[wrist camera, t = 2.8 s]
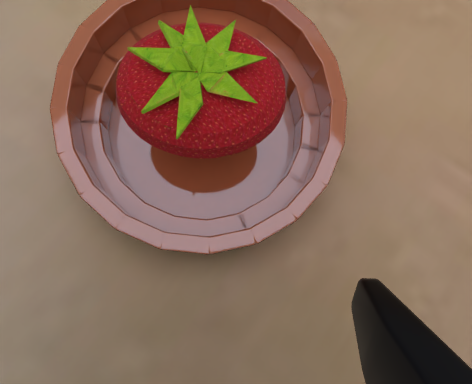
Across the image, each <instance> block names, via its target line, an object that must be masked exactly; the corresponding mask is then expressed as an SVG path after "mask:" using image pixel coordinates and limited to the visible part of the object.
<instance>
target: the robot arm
mask: <svg viewBox="0 0 472 384" xmlns="http://www.w3.org/2000/svg"><path fill="white" fill-rule="evenodd" d="M352 314H353V320H354V326H355V331H356V337H357V343H358V349H359V354H360V360H361V365H362V370H363V375H364V378H365V382H366V384H472V369H471V368H470V367H469V366H468V365H467V364H466V363H465V362H464V361H463V360H462V359H461V358H460V357H459V356H458V355H457V354H455V353H454V352H453V351H452V350H451V349H450V348H449V347H448V346H447V345H446V344H445V343H444V342H443V341H442V340H441V339H440V338H439V337H438V336H437V335H436V334H435V333H434V332H433V331H432V330H430V329H429V328H428V327H427V326H426V325H425V324H424V323H423V322H422V321H421V320H420V319H419V318H418V317H417V316H416V315H415V314H414V313H413V312H412V311H411V310H410V309H409V308H408V307H407V306H405V305H404V304H403V303H402V302H401V301H400V300H399V299H398V298H397V297H396V296H395V295H394V294H393V293H392V292H391V291H390V290H389V289H388V288H387V287H386V286H385V285H384V284H383V283H381V282H380V281H379V280H378V279H367V278H362V279H360V280H359V282H358V284H357V287H356V290H355V293H354V297H353V300H352Z"/></svg>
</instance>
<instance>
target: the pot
mask: <svg viewBox="0 0 472 384" xmlns="http://www.w3.org/2000/svg"><path fill="white" fill-rule="evenodd" d="M190 5H191V8H192V10H193V13H194V15H195V18H196V20H197V23H212V24H220V25H224V26H228V25H229V24H231V23H232V22H233V21H235V20H236V22H235V26H234V29H237V30H239V31H241V32H244V33H246V34H248V35H250V36H252V37H253V38H255V39H256V40H258V41H259V42H261V43H262V44H263V45H264V46H265V47H266V48H267V49H268V50H269V51H271V52H272V54H273V55H274V57H275V58H276V59H277V61H278V62H279V64H280V66H281V69H282V71H283V74H284V78H285V86H286V104H285V110H284V112H283V115H282V117H281V120H280V122H279V123H278V125H277V126H276V127H275V129H274V130H273V132H272V133H271V134H269V135H268V136H267V137H266V138H265V139H264V140H263V141H262V142H260V143H258V144H256V145H255V146H253V147H251V148H250V149H248V150H245V151H242V152H240V153H237V154H234V155H230V156H225V157H220V158H206V159H198V158H189V157H182V156H178V155H175V154H171V153H168V152H165V151H163V150H161V149H158V148H156V147H154V146H152V145H150V144H149V143H147V142H146V141H144V140H143V139H141V138H140V137H139V136H138V135H137V134H136V133H135V132H134V131H133V130H132V129H131V128H130V127H129V126H128V125H127V123H126V122H125V120H124V119H123V117H122V115H121V113H120V110H119V107H118V104H117V97H116V77H117V72H118V68H119V65H120V63H121V61H122V59H123V57H124V56H125V54H126V53H127V52H128V51H129V50H128V48H127V47H132V46H133V45H134V44H136V43H137V42H138V41H139V40H141V39H142V38H143V37H145V36H147V35H149V34H151V33H153V32H154V31H156V30H159V29H161V28H160V26H159V24H158V21H159V20H160V21H162V22H163V23H165V24H166V25H168V26H171V25H177V24H183V23H186V22H187V18H188V13H189V9H190ZM50 108H51V109H50V113H51V120H52V126H53V132H54V139H55V145H56V151H57V154H58V157H59V159H60V161H61V162H62V164H63V166H64V168H65V170H66V172H67V174H68V176H69V177H70V179H71V181H72V183H73V185H74V187H75V189H76V190H77V192H78V194H79V195H80V197H81V198H82V199H83V200H84V201H85V202H86V203H87V204H88V205H89V206H91V207H92V208H93V209H94V210H95V211H96V212H97V213H98V214H99V215H100V216H101V217H102V218H104V219H105V220H106V221H107V222H108V223H109V224H110V225H111V226H112V227H113V228H115V229H116V230H118V231H120V232H122V233H125V234H127V235H129V236H131V237H134V238H136V239H138V240H140V241H142V242H145V243H147V244H149V245H151V246H154V247H156V248H158V249H161V250H170V251H180V252H189V253H199V254H214V253H219V252H223V251H228V250H233V249H237V248H242V247H247V246H251V245H255V244H258V243H260V242H261V241H263V240H265V239H267V238H268V237H270V236H272V235H273V234H275V233H277V232H278V231H280V230H282V229H284V228H285V227H287V226H289V225H290V224H292V223H294V222H295V221H297V220H298V219H299V218H300V217H301V216H302V214H303V213H304V212H305V211H306V210H307V209H308V208H309V206H310V205H311V204H312V203H313V202H314V201H315V200H316V198H317V197H318V196H319V195H320V194H321V193H322V191H323V190H324V189H325V188H326V187H327V185H328V184H329V181H330V179H331V176H332V174H333V171H334V169H335V166H336V164H337V162H338V159H339V157H340V154H341V152H342V149H343V147H344V143H345V129H346V113H347V98H346V94H345V90H344V86H343V82H342V79H341V75H340V71H339V67H338V63H337V60H336V58H335V56H334V54H333V53H332V51H331V50H330V48H329V46H328V45H327V43H326V42H325V40H324V39H323V37H322V35H321V34H320V32H319V31H318V29H317V27H316V26H315V24H314V23H313V22H312V21H311V20H310V19H309V18H307V17H306V16H305V15H304V14H303V13H302V12H301V11H299V10H298V9H297V8H296V7H295V6H294V5H292V4H291V3H290V2H289V1H288V0H107V1H106V2H105V3H103V4H102V5H101V6H100V7H99V8H98V9H97V10H96V11H95V12H94V13H92V14H91V15H90V16H89V17H88V18H87V19H86V20H85V21H84V22H83V23H82V24H81V25H79V27H78V29H77V31H76V32H75V34H74V36H73V38H72V39H71V41H70V43H69V45H68V47H67V48H66V50H65V52H64V54H63V55H62V57H61V59H60V61H59V63H58V66H57V72H56V77H55V83H54V88H53V94H52V99H51V105H50Z"/></svg>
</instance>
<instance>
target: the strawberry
mask: <svg viewBox="0 0 472 384" xmlns="http://www.w3.org/2000/svg"><path fill="white" fill-rule="evenodd" d="M235 22H236V20H235V21H233V22H232V23H231V24H229V25H228V26H224V25H220V24H212V23H197V20H196V18H195V15H194V13H193V10H192V8H191V5H190V9H189V13H188V18H187V22H186V23H183V24H177V25H171V26H168V25H166V24H165V23H163V22H162V21H160V20H159V21H158V24H159V26H160V28H161V29H159V30H156V31H154V32H153V33H151V34H149V35H147V36H145V37H143V38H142V39H141V40H139V41H138V42H137V43H136V44H134V45H133V46H132V47H127V48H128V50H129V51H128V52H127V53H126V54H125V56H124V57H123V59H122V61H121V63H120V65H119V68H118V72H117V77H116V97H117V104H118V107H119V110H120V113H121V115H122V117H123V119H124V120H125V122H126V123H127V125H128V126H129V127H130V128H131V129H132V130H133V131H134V132H135V133H136V134H137V135H138V136H139V137H140V138H141V139H143V140H144V141H146V142H147V143H149V144H150V145H152V146H154V147H156V148H158V149H161V150H163V151H165V152H168V153H171V154H175V155H178V156H182V157H189V158H198V159H206V158H220V157H225V156H230V155H234V154H237V153H240V152H242V151H245V150H248V149H250V148H251V147H253V146H255V145H256V144H258V143H260V142H262V141H263V140H264V139H265V138H266V137H267V136H268V135H269V134H271V133H272V132H273V130H274V129H275V127H276V126H277V125H278V123H279V122H280V120H281V117H282V115H283V112H284V110H285V104H286V86H285V78H284V74H283V71H282V69H281V66H280V64H279V62H278V61H277V59H276V58H275V57H274V55H273V54H272V52H271V51H269V50H268V49H267V48H266V47H265V46H264V45H263V44H262V43H261V42H259V41H258V40H256V39H255V38H253V37H252V36H250V35H248V34H246V33H244V32H241V31H239V30H237V29H234V26H235Z"/></svg>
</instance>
